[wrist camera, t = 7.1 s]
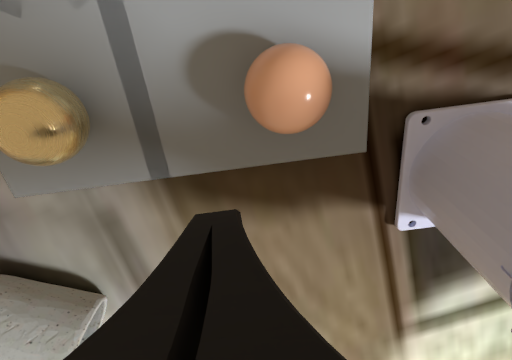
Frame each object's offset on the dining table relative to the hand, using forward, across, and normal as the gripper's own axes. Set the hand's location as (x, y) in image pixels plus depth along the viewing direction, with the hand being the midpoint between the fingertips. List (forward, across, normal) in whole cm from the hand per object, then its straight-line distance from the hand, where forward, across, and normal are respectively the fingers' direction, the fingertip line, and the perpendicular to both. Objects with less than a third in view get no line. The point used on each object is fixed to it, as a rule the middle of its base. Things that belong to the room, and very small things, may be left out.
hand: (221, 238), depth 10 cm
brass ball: (+5, +7, -3) cm, 9 cm away
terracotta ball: (+5, -3, -3) cm, 7 cm away
